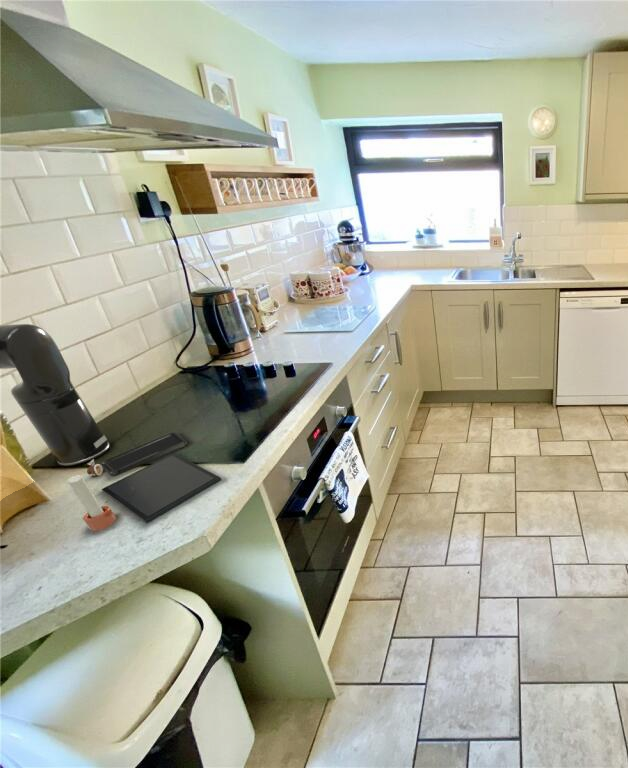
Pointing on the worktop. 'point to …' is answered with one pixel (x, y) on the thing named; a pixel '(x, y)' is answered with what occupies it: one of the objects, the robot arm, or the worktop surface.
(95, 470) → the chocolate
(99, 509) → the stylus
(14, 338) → the robot arm
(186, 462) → the tablet
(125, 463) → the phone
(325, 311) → the worktop surface
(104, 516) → the orange hollow cylinder
